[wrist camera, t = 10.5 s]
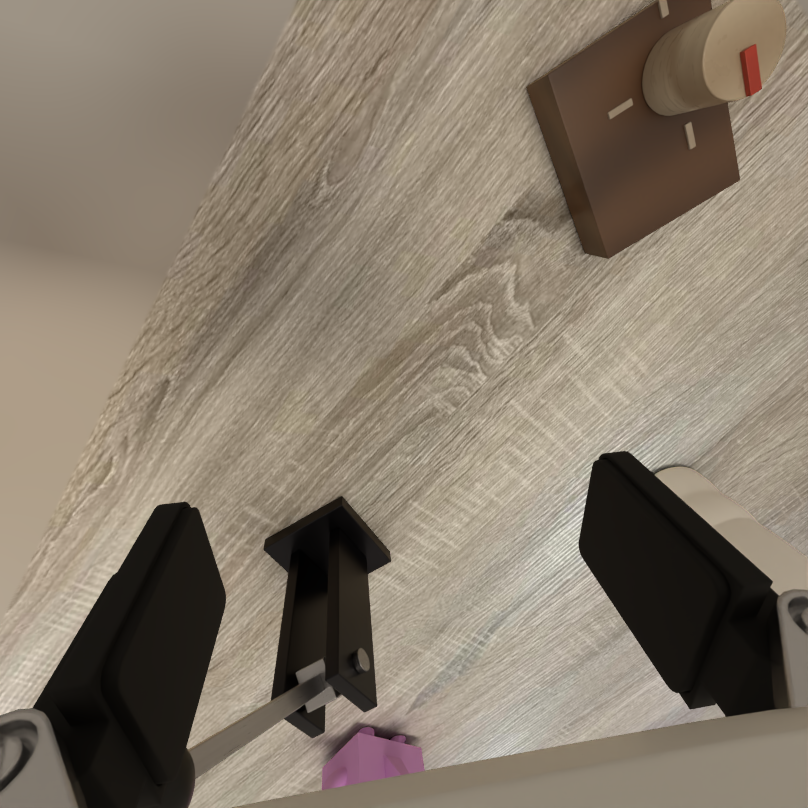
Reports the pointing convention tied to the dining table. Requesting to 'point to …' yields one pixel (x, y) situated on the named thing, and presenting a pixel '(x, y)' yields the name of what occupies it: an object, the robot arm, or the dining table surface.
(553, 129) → the tap panel
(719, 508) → the water bottle
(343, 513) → the black lever stand
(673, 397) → the dining table surface
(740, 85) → the tap knob
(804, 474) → the dining table surface
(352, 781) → the teapot
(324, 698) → the faucet lever
